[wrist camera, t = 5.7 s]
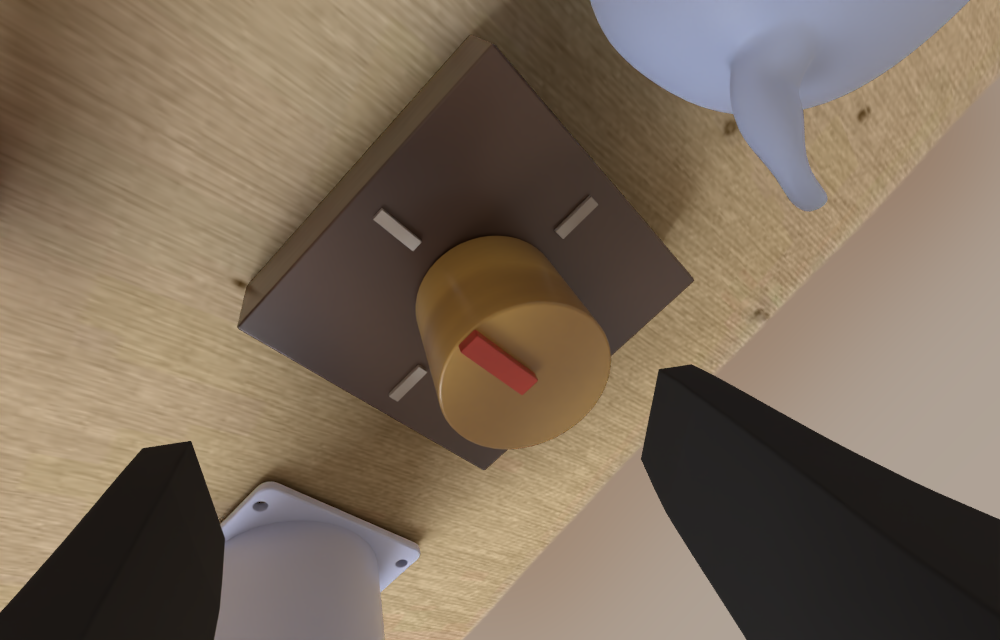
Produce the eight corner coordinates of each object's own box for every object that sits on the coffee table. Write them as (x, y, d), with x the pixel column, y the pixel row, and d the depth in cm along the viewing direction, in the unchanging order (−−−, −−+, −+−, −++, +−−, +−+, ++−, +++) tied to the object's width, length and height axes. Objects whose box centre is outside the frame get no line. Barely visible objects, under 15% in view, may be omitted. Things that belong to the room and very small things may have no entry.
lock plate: (469, 426, 23) (485, 475, 21) (245, 287, 18) (234, 331, 15) (658, 250, 21) (698, 283, 19) (470, 33, 16) (494, 42, 13)
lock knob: (584, 292, 18) (650, 371, 14) (487, 385, 19) (526, 482, 15) (489, 203, 16) (539, 271, 12) (383, 315, 16) (400, 409, 13)
